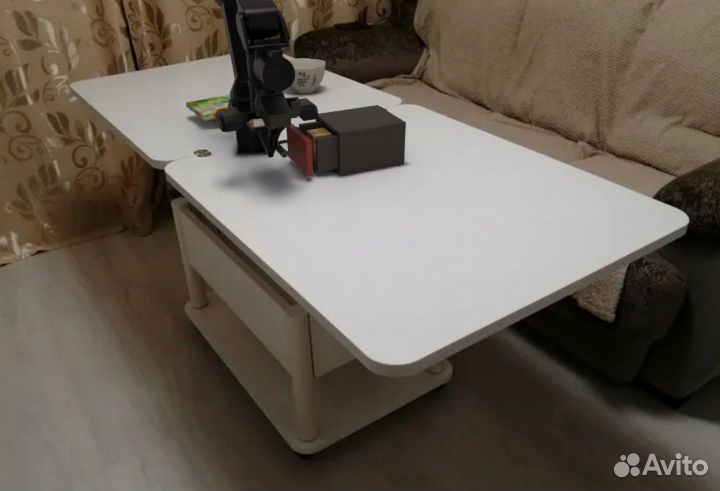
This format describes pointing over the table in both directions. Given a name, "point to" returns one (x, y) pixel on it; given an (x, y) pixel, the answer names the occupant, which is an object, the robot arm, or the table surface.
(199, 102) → the puzzle game
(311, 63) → the teacup
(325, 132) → the oak block
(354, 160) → the drawer cabinet casing
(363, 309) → the table surface
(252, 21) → the robot arm
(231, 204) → the table surface
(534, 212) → the table surface
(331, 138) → the red-fronted drawer
